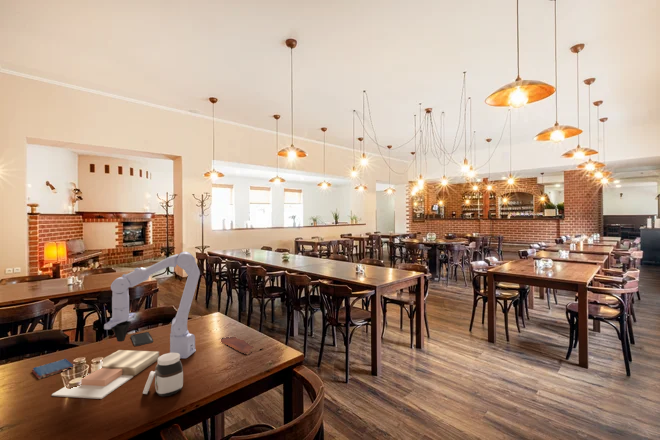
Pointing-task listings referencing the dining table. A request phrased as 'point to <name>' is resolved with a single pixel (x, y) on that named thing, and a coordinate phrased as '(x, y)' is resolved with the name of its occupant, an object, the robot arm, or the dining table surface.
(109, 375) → the tile
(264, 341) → the dining table surface
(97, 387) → the mat
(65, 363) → the woven mat
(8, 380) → the dining table surface
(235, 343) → the wooden tablet
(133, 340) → the phone
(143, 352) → the block
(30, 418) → the dining table surface
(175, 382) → the spread jar
